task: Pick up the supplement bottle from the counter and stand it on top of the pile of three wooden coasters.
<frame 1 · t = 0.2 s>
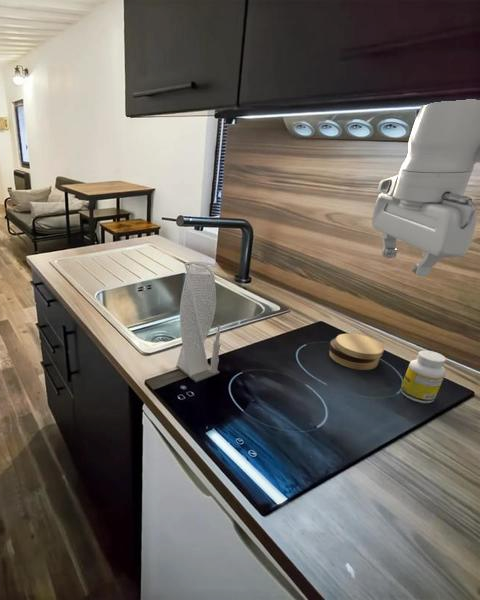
hand: (402, 265, 67), 28 cm above the worktop, tool pointing down, fingers open, 8 cm apart
coaster pile: (352, 358, 88), on the worktop
skyscraper: (193, 370, 88), on the worktop
supplement bottle: (415, 396, 75), on the worktop
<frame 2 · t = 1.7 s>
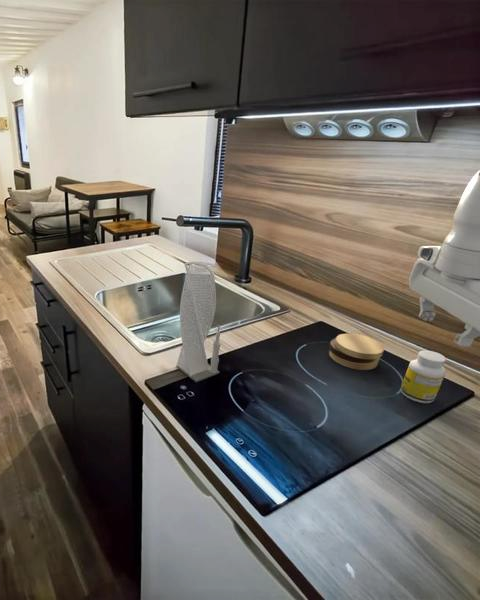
hand: (442, 330, 69), 15 cm above the worktop, tool pointing down, fingers open, 8 cm apart
nothing on the worktop moved.
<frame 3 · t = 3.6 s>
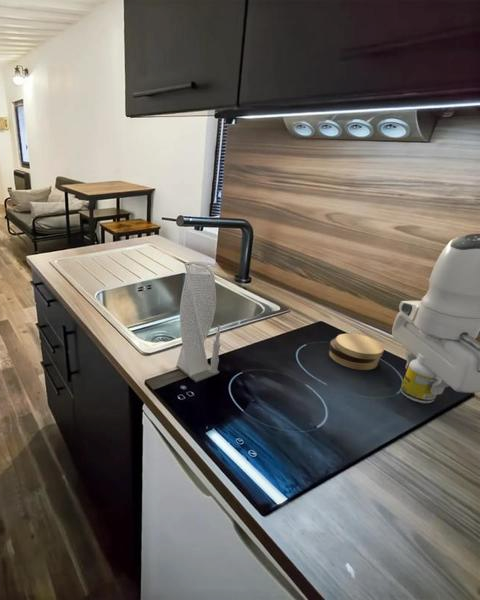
hand: (422, 381, 74), 4 cm above the worktop, tool pointing down, fingers closed on supplement bottle, 5 cm apart
supplement bottle: (415, 396, 75), on the worktop, touching gripper
everything else where it was.
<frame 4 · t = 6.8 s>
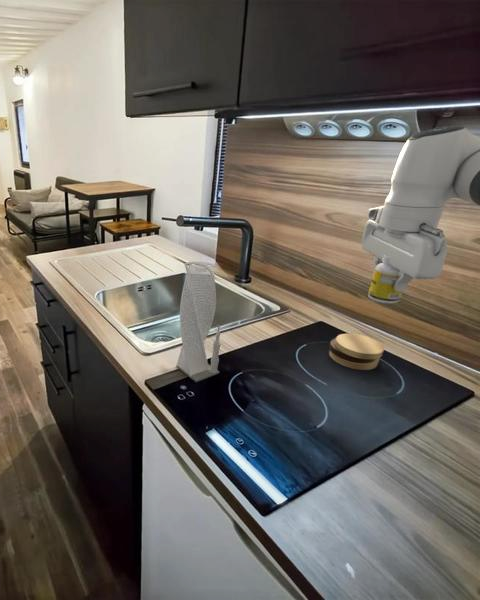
hand: (387, 283, 77), 21 cm above the worktop, tool pointing down, fingers closed on supplement bottle, 5 cm apart
supplement bottle: (382, 299, 79), point 17 cm above the worktop, touching gripper
everything else where it was.
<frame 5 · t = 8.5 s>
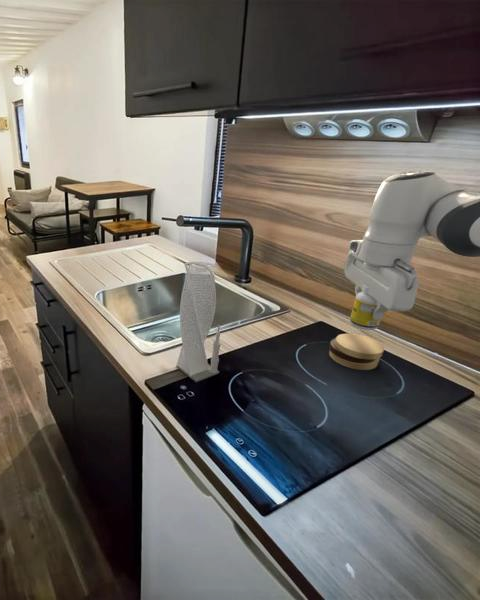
hand: (367, 310, 82), 13 cm above the worktop, tool pointing down, fingers closed on supplement bottle, 5 cm apart
supplement bottle: (362, 325, 84), point 9 cm above the worktop, touching gripper
everything else where it was.
when the fingers open (8 cm above the worktop, at t = 10.2 s): supplement bottle stays where it is, resting on coaster pile.
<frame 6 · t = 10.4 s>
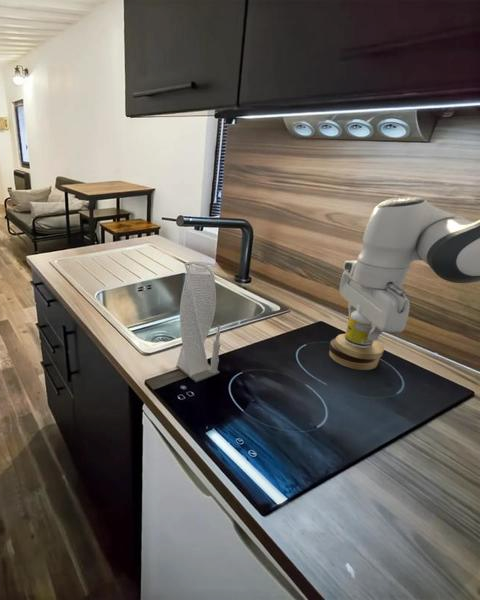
hand: (361, 329, 85), 8 cm above the worktop, tool pointing down, fingers open, 7 cm apart
supplement bottle: (357, 343, 86), point 4 cm above the worktop, touching coaster pile
everything else where it was.
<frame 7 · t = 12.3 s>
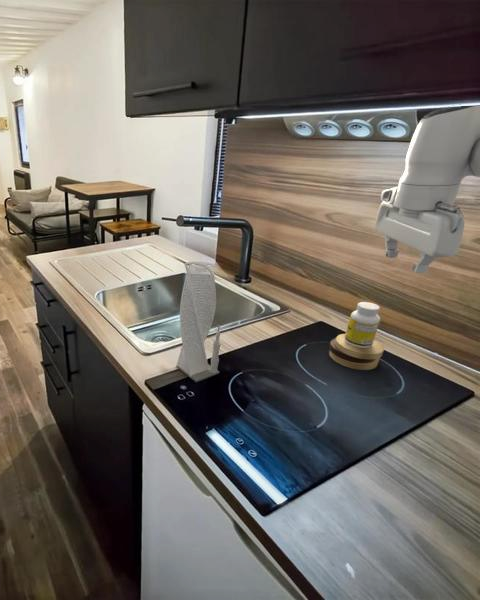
hand: (403, 264, 77), 24 cm above the worktop, tool pointing down, fingers open, 8 cm apart
nothing on the worktop moved.
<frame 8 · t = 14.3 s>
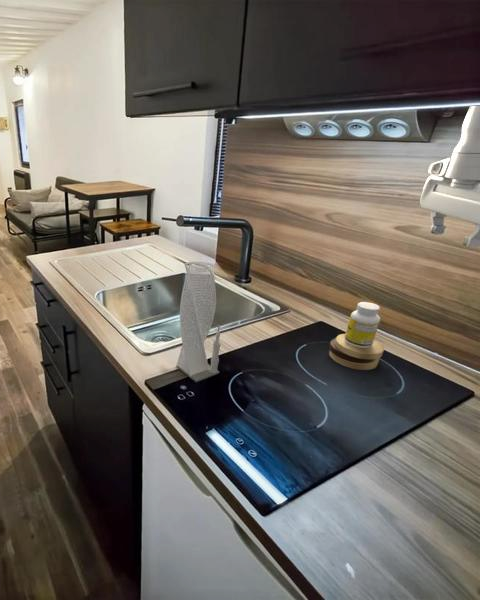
hand: (452, 239, 74), 29 cm above the worktop, tool pointing down, fingers open, 8 cm apart
nothing on the worktop moved.
at the end: supplement bottle 0.1 cm off-centre on the coaster pile, point 4.3 cm above the coaster pile's base; supplement bottle tilted 0°; the gripper is holding nothing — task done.
